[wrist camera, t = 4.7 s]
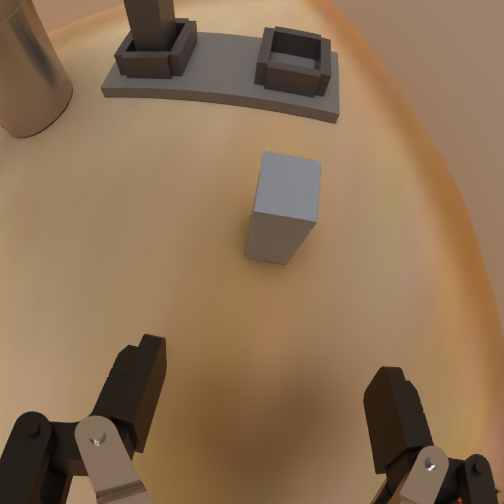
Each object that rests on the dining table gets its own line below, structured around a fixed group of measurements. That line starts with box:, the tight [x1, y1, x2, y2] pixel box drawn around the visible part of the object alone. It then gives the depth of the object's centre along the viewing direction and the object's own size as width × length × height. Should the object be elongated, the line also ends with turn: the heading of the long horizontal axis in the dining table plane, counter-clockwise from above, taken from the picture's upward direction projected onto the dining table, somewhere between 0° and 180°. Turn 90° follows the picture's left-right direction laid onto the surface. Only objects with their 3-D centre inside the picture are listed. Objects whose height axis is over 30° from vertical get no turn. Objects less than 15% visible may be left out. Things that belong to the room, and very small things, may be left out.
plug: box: [245, 151, 321, 265], centre depth 21 cm, size 3×4×10 cm
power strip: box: [101, 0, 339, 123], centre depth 25 cm, size 24×10×11 cm, turn 82°
